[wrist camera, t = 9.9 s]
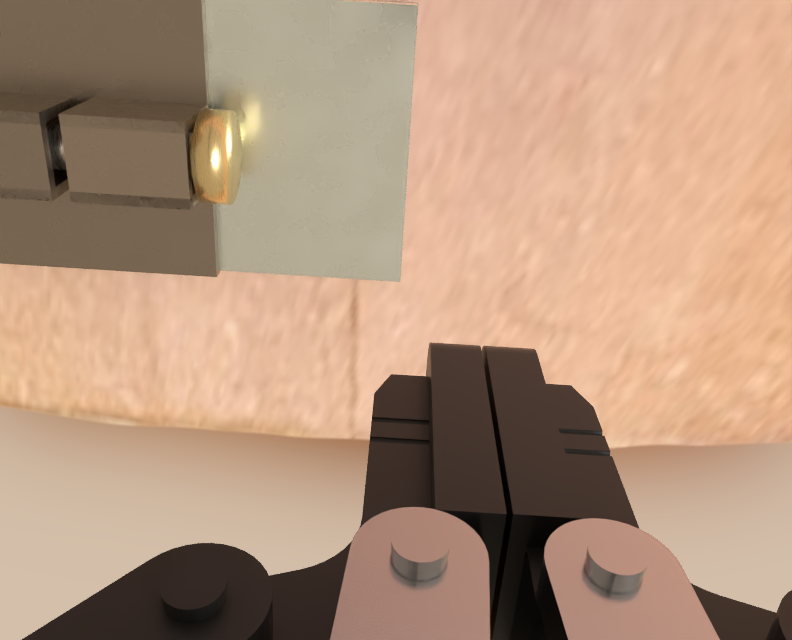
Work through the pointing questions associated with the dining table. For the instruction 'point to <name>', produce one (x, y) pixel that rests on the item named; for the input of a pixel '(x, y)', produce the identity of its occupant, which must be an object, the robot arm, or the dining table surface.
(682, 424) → the dining table surface
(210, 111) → the hinge pin
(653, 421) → the dining table surface
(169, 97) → the hinge
